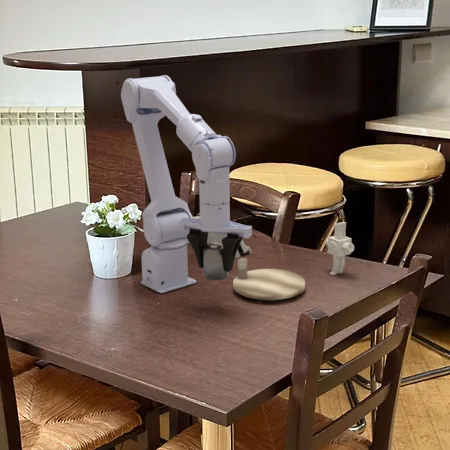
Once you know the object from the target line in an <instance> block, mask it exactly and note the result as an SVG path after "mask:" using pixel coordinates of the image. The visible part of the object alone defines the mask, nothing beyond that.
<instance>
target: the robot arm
mask: <svg viewBox="0 0 450 450" xmlns="http://www.w3.org/2000/svg"><path fill="white" fill-rule="evenodd" d="M120 97H121V98H120V99H121V102H122V103H121V104H122V106H123V110H124V115H125V118H126V121H127V122H129V123H131V125H132V131H133V134H134V137H135V141H136V146H137V149H138V153H139V157H140V160H141V161H140V162H141V164H142V165H141V166H142V169H143V173H144V177H145V181H146V184H147V185H146V186H147V189H148V193H149V197H150V198H149V199H150V203H149V204H148V205H147V206H146V208H144V210H143V212H142V220H143V221H142V222H143V225H142V226H143V227H142V229H143V234H144V237H145V240H146V241H147V242H148V243H149V245H150V247H149V248H146V249H144V250H143V251H142V253H141V257H140V258H141V276H142V277H141V278H142V280H141V281H140V284H142V285H144V286H145V287H146V288H148V289H149V288H150V289H151V290H153V291H155V292H157V293H159V294H164V293H168V292H171V291H173V290H177V289H181V288H184V287H187V286H190V285H194V284H196V283H197V280H196V279H194V278H192V277H189V266H188V265H189V264H188V261H189V260H188V244H189V245H190V246H191V247H192V250H193V253H194V254H195V256H196V260H197V263H198V268H200V269H203V248H202V247H203V245H205V244H207V239H208V232H210V233H217V234H225V235H227V237H225V238H223V239H222V244H223V248H224V256H225V272H229V273H230V272H231V271H232V270H233V268H234V263H235V260H236V258H235V255H236V252H237V250H238V247H239V245H240V243H241V241H242V239H243V240H244V239H247V240H248V239H249V238H251V237H252V236H253V226H252V225H246V224H241V223H238V222H235V221H231V216H230V215H231V213H230V212H231V211H230V210H231V209H230V207H231V206H230V201H231V199H230V198H231V197H230V195H231V194H230V188H231V187H230V167H232V166H233V165H234V164H235V162H236V156H237V155H236V148H235V144H234V143H233V141H232V140H231V138H230V137H229V136H227V135H223V136H222V134H217V133H216V132H215V131H214V130H213V129H212V128H211V127H210V126H209V125H208V123H206V122H205V120H204V119H203V117H202V116H201V115H200V114H195V113H190V112H189V111H188V109H187V108H186V107H185V105H184V104H183V102H182V101H181V100H180V98H179V97H178V95H177V90H176V83H175V82H174V81H173V80H172V79H171V77H170V76H168V75H166V74H164V75H159V76H150V77H149V76H148V77H140V78H131V77H129V78H126V79H125V80H124V82H123V84H122V86H121V91H120ZM165 116H166V117H167V118H168V120H170V122H171V123H172V124H174V125H175V126H176V131H175V132H176V135H177V137H178V139H180V140H181V141H182V143H183V144H184V145H185V146H186V147H187V149H188V150H189V151H190V152H191V157H192V162H193V165H194V167H195V175H196V178H197V179H198V181H199V183H198V184H199V187H198V188H199V213H200V219H194V218H193V217H194V216H193V214H192V213H191V211H190V209H189V206H188V202H187V201H185V200H183V199H181V198H180V197H177V196H176V194H175V189H174V186H173V183H172V178H171V175H170V170H169V167H168V163H167V162H168V161H167V159H166V155H165V151H164V147H163V143H162V139H161V135H160V131H159V130H160V129H159V127H158V123H159V121H160V120H161V119H162V118H164V117H165Z"/></svg>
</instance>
